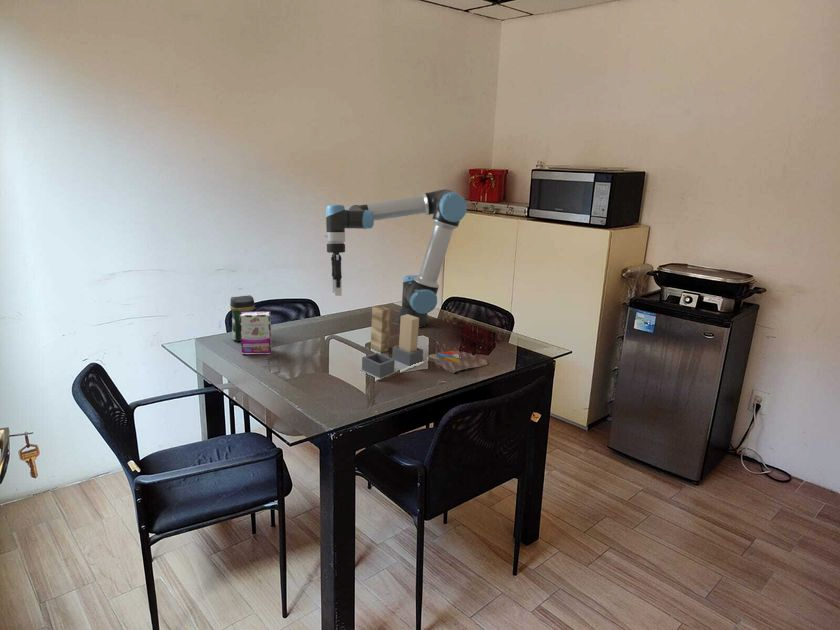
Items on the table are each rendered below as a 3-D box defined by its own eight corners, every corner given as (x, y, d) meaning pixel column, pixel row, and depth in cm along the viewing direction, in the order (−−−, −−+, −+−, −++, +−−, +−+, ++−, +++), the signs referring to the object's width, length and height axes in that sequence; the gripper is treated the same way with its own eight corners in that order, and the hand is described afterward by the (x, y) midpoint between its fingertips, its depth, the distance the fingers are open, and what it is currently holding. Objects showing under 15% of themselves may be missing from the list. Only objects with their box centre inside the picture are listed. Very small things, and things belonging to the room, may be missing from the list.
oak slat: (377, 346, 233) (379, 305, 228) (387, 350, 230) (389, 309, 224) (370, 348, 230) (372, 307, 225) (380, 352, 227) (382, 310, 221)
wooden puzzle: (489, 365, 222) (490, 357, 221) (454, 376, 211) (455, 367, 210) (459, 351, 235) (460, 343, 234) (425, 360, 223) (426, 352, 222)
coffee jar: (252, 334, 237) (251, 292, 231) (258, 340, 231) (256, 297, 225) (229, 337, 232) (227, 294, 226) (234, 343, 226) (232, 300, 220)
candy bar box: (271, 349, 222) (270, 311, 217) (271, 354, 218) (270, 315, 212) (242, 350, 220) (241, 311, 215) (241, 355, 215) (239, 315, 210)
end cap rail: (405, 355, 225) (408, 311, 219) (424, 363, 219) (427, 318, 213) (359, 372, 207) (361, 324, 201) (378, 381, 201) (380, 332, 195)
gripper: (325, 242, 240) (326, 291, 243) (328, 243, 216) (329, 297, 219) (342, 242, 242) (343, 291, 245) (347, 243, 218) (348, 296, 220)
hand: (336, 294), depth 232 cm, fingers open, 13 cm apart
